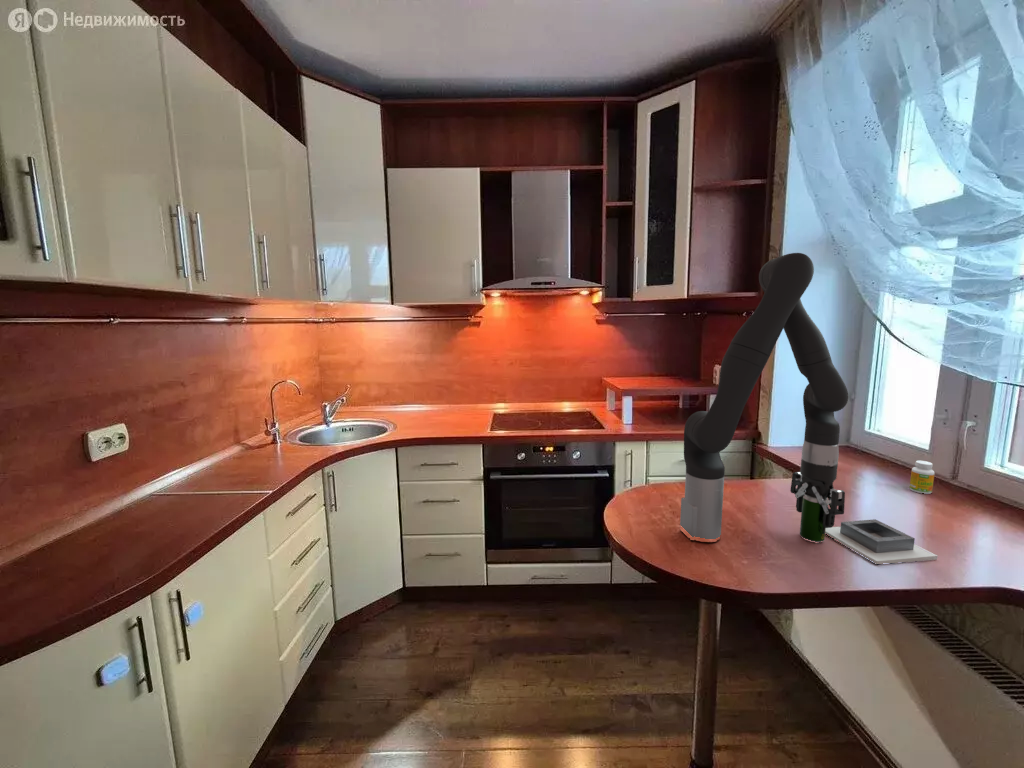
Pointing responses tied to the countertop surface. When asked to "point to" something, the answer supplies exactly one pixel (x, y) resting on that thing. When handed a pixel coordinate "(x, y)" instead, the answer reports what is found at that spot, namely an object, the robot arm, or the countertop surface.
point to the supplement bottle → (922, 477)
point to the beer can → (812, 519)
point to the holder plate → (881, 558)
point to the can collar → (891, 537)
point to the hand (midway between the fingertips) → (813, 519)
